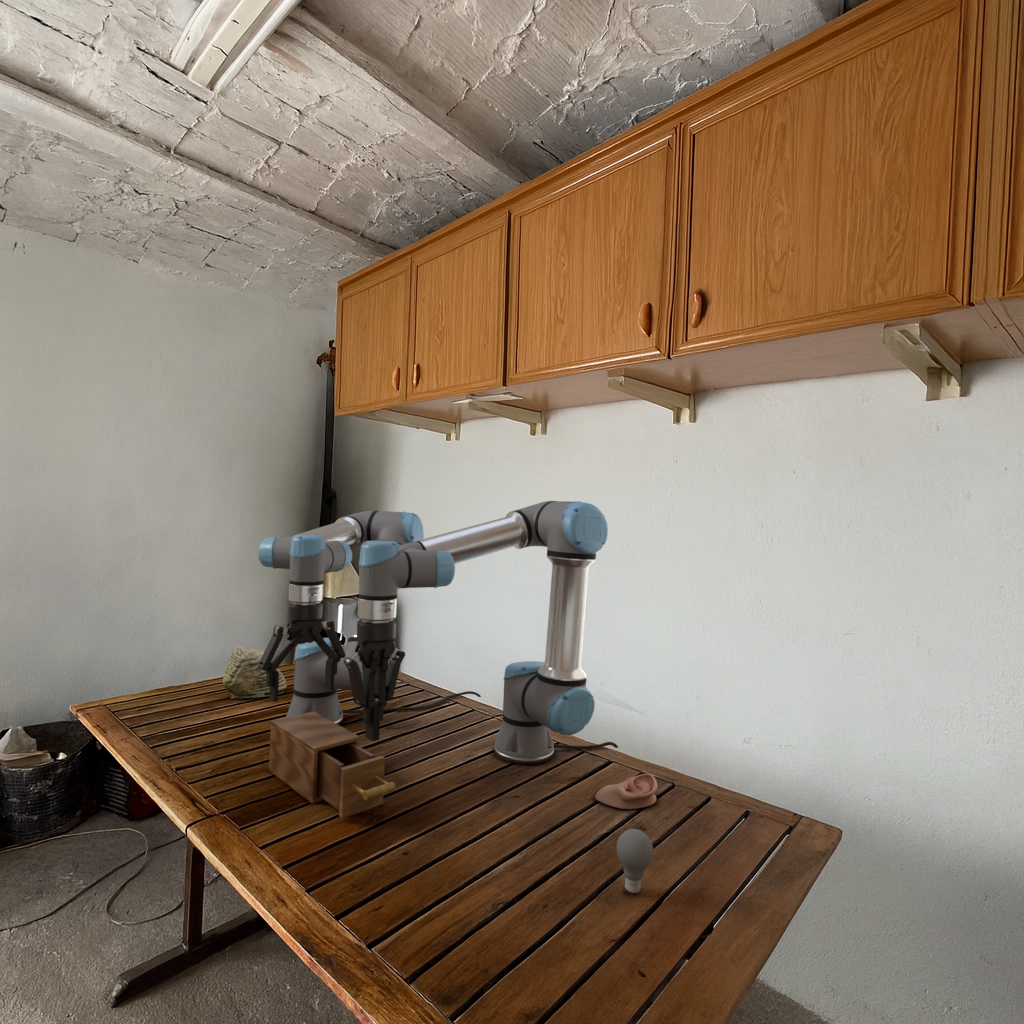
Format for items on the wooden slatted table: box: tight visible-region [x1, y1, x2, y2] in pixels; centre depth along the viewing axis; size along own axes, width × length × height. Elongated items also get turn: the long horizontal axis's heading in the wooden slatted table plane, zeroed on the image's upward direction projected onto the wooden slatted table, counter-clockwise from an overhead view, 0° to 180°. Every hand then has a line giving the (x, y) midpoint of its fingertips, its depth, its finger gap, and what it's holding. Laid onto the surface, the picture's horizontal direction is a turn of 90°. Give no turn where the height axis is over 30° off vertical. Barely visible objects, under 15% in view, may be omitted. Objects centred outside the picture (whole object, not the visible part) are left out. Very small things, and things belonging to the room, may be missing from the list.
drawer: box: [316, 742, 396, 819], centre depth 131 cm, size 26×9×10 cm, turn 45°
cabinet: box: [268, 711, 360, 804], centre depth 142 cm, size 21×11×12 cm, turn 45°
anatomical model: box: [594, 773, 658, 810], centre depth 139 cm, size 13×4×12 cm
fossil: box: [222, 646, 288, 699], centre depth 198 cm, size 9×18×15 cm, turn 132°
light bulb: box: [615, 828, 654, 894], centre depth 106 cm, size 6×6×10 cm
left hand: (302, 694), depth 146 cm, fingers open, 13 cm apart
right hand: (372, 738), depth 125 cm, fingers closed
